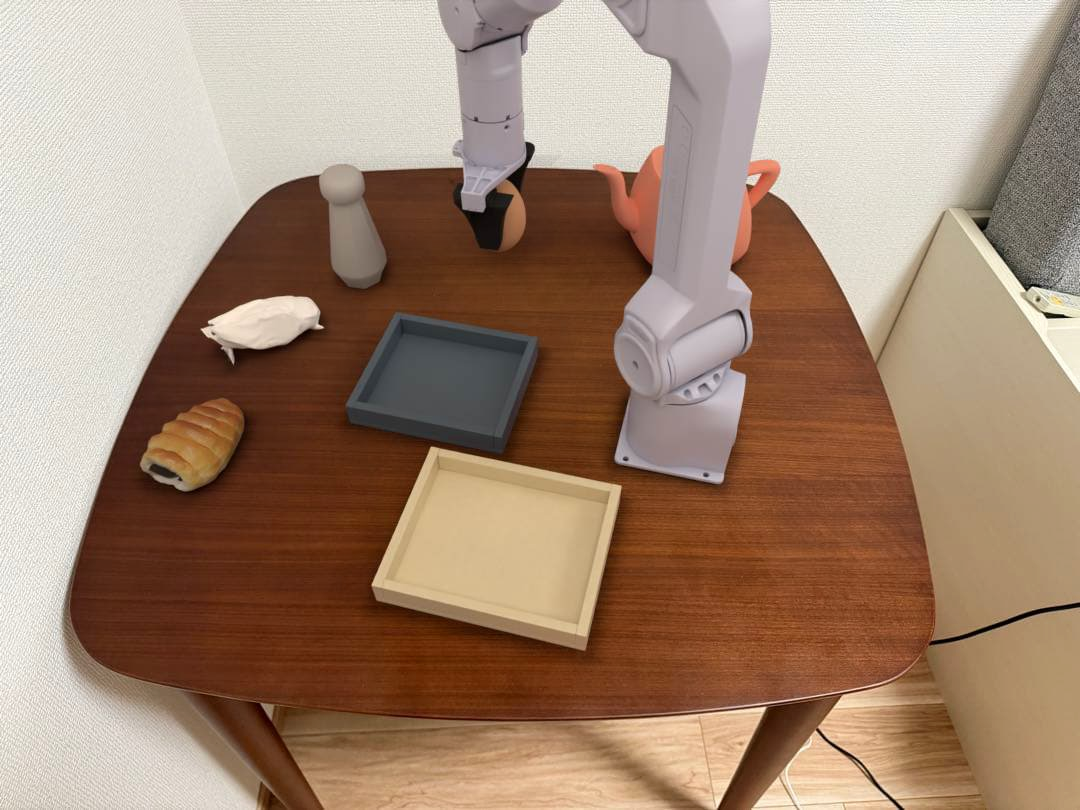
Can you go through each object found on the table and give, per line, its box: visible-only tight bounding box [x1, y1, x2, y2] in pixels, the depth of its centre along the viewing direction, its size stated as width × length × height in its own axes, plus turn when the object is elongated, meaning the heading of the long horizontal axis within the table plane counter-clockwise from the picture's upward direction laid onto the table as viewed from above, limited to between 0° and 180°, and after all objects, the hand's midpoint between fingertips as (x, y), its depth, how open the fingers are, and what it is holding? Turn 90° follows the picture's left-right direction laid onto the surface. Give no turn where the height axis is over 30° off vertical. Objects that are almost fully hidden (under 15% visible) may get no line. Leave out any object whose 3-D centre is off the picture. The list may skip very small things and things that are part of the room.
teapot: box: [592, 144, 781, 267], centre depth 86 cm, size 13×20×12 cm, turn 100°
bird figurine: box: [200, 295, 325, 365], centre depth 80 cm, size 5×7×10 cm
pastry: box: [139, 397, 245, 492], centre depth 72 cm, size 9×7×4 cm
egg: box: [470, 179, 527, 253], centre depth 84 cm, size 6×6×8 cm
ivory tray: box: [370, 446, 623, 652], centre depth 65 cm, size 17×14×2 cm
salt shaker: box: [318, 163, 388, 290], centre depth 83 cm, size 6×6×13 cm
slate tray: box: [345, 311, 539, 455], centre depth 77 cm, size 15×13×2 cm
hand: (498, 228), depth 85 cm, fingers closed on egg, 6 cm apart
